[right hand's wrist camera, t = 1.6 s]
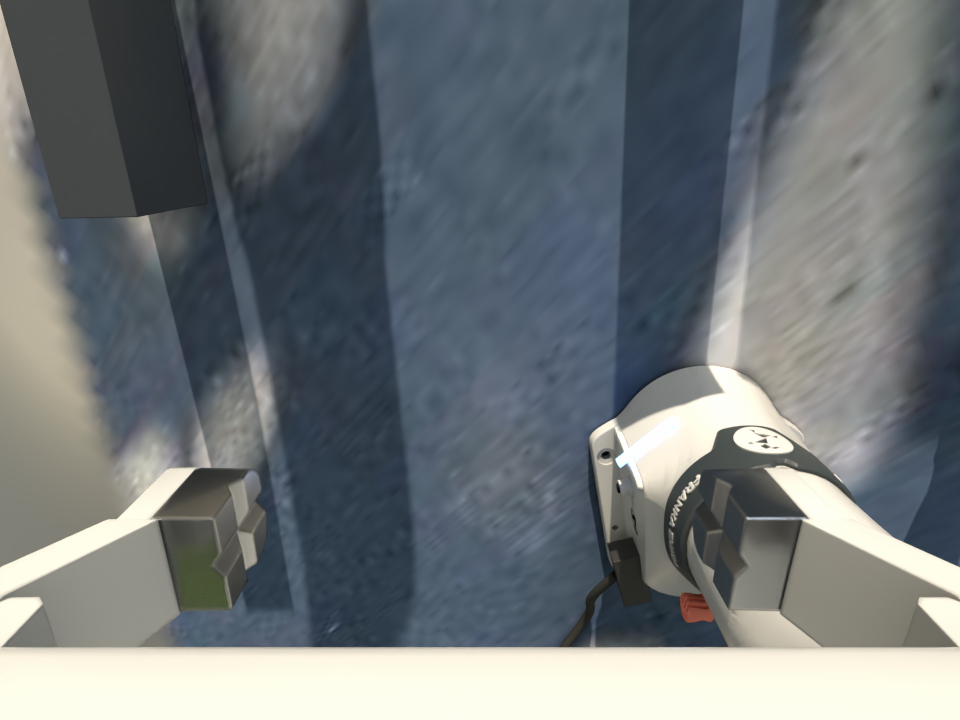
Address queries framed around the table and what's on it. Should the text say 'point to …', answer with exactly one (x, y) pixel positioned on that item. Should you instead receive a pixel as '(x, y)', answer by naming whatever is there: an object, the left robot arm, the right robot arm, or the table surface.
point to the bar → (107, 104)
